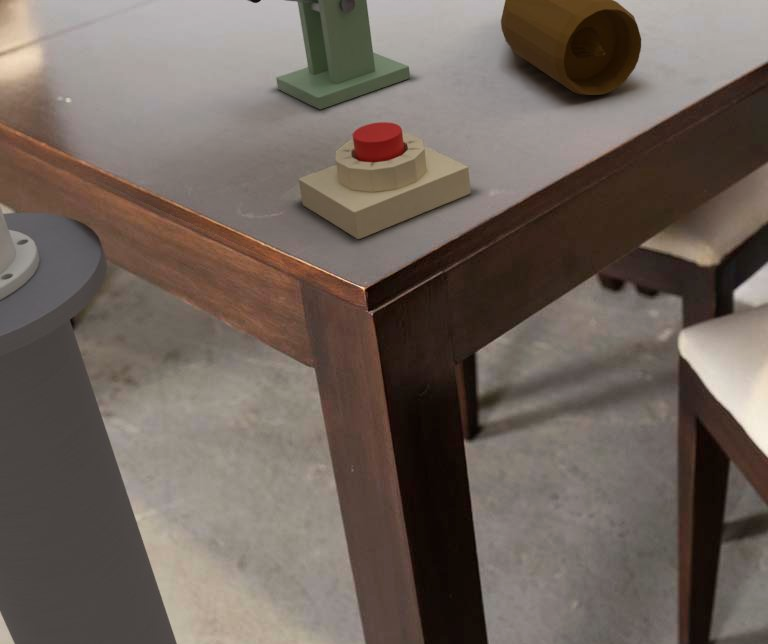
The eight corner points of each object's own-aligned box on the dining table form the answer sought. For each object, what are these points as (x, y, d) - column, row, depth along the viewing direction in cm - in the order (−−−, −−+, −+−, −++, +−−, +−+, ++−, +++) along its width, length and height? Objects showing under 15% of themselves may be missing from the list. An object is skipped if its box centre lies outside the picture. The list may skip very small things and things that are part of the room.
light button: (372, 169, 79) (369, 146, 78) (346, 155, 82) (343, 132, 81) (413, 153, 80) (411, 130, 79) (386, 140, 83) (384, 117, 82)
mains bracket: (319, 110, 100) (302, 0, 94) (277, 89, 106) (259, -15, 100) (410, 78, 104) (399, -29, 98) (365, 60, 110) (351, -42, 104)
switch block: (358, 240, 78) (350, 188, 76) (302, 205, 84) (293, 156, 82) (470, 193, 82) (466, 143, 80) (410, 163, 88) (405, 115, 86)
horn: (523, 41, 116) (643, 117, 96) (439, 12, 112) (546, 86, 92) (554, -35, 113) (684, 28, 93) (469, -67, 108) (586, -9, 88)
